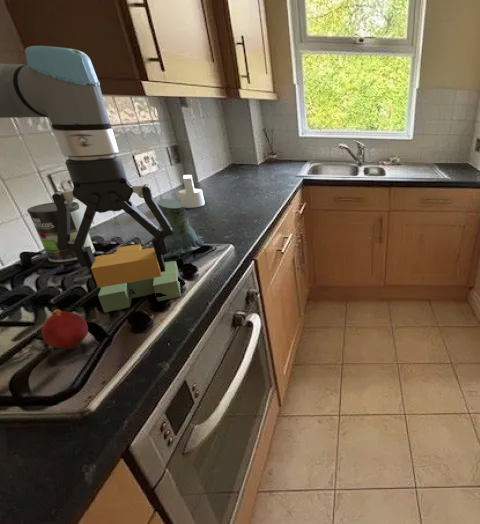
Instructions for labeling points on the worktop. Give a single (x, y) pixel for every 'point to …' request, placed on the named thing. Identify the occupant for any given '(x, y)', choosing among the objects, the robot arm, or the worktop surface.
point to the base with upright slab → (191, 194)
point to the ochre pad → (126, 266)
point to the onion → (64, 330)
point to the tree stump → (177, 231)
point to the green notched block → (141, 289)
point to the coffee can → (47, 230)
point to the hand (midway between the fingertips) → (131, 274)
